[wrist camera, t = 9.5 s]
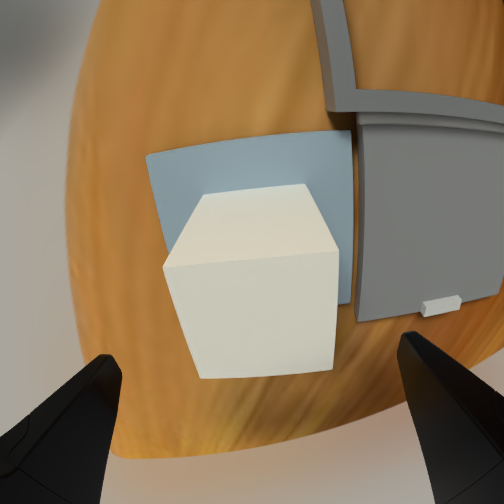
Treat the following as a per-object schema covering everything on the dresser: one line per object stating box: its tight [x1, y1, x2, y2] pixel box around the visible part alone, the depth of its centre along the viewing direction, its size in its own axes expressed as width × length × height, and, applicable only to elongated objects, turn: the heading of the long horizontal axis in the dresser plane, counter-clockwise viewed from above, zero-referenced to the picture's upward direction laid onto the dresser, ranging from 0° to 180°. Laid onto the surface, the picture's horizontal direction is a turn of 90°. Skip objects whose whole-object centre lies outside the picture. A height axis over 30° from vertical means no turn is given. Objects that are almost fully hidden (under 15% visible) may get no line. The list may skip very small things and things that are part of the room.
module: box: [163, 184, 339, 379], centre depth 13 cm, size 5×5×7 cm
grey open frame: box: [310, 0, 504, 322], centre depth 11 cm, size 15×27×2 cm, turn 7°
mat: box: [145, 130, 353, 305], centre depth 16 cm, size 10×10×1 cm
